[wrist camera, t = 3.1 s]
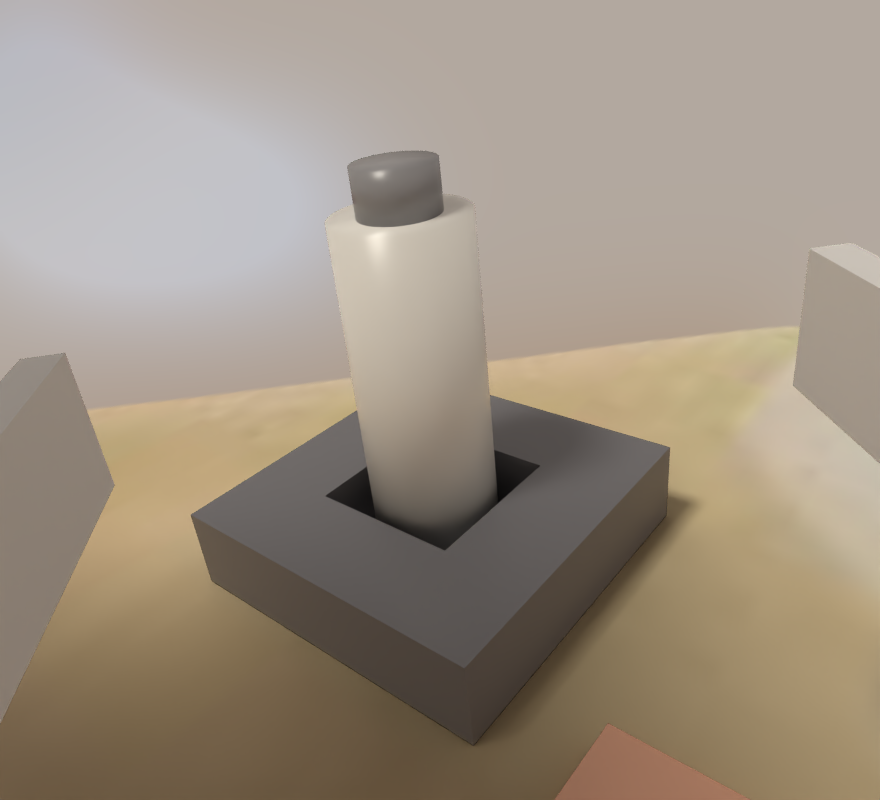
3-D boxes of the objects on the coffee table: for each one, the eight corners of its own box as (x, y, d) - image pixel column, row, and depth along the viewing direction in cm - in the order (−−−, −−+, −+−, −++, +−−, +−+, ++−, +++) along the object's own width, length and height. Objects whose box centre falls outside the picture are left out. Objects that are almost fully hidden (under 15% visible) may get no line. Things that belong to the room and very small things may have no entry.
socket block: (211, 580, 28) (190, 514, 27) (422, 430, 36) (415, 373, 35) (473, 745, 21) (464, 668, 20) (666, 515, 29) (670, 447, 28)
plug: (355, 548, 28) (283, 174, 22) (432, 487, 31) (388, 141, 25) (449, 595, 26) (399, 186, 19) (524, 524, 29) (501, 147, 22)
